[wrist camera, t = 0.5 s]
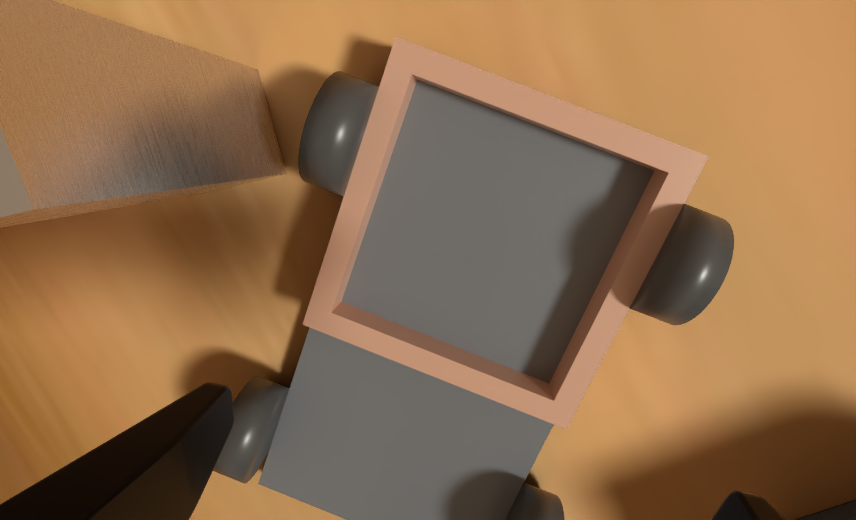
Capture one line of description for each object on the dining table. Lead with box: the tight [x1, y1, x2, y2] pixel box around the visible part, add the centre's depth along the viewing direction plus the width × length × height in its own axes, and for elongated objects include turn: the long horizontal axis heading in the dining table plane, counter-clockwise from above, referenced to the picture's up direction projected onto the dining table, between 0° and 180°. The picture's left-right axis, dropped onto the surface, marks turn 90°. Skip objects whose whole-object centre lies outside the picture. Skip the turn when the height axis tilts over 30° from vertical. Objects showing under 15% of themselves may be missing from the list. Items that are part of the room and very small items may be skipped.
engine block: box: [0, 0, 287, 228], centre depth 15 cm, size 4×4×12 cm
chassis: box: [213, 36, 734, 520], centre depth 20 cm, size 22×15×4 cm
